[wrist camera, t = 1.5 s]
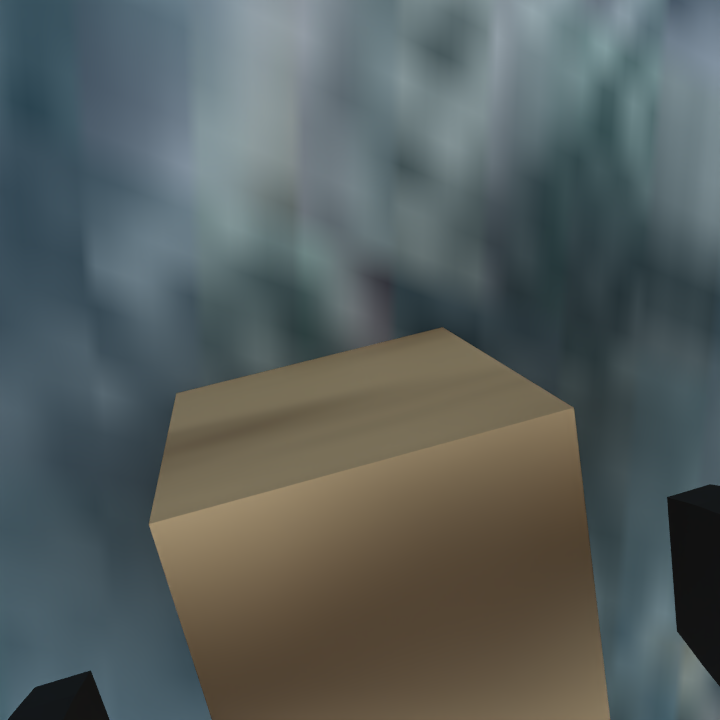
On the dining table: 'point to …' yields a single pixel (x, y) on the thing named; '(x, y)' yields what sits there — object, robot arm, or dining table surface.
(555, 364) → the dining table surface
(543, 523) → the wooden cube
